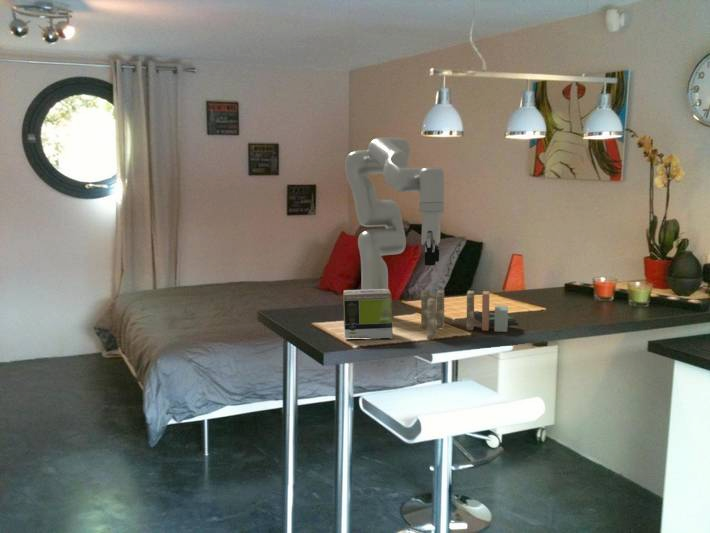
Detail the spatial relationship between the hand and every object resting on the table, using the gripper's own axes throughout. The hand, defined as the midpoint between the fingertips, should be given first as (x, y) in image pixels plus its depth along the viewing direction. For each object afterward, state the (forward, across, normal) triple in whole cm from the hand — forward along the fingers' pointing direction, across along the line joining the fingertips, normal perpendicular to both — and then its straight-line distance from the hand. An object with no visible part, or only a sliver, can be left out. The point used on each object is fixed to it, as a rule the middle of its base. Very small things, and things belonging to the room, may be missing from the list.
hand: (432, 263), depth 223 cm
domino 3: (+23, -15, +1) cm, 28 cm away
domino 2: (+23, 0, 0) cm, 23 cm away
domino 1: (+23, -15, -4) cm, 28 cm away
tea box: (+24, +3, -20) cm, 31 cm away
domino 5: (+23, -15, +16) cm, 32 cm away
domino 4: (+23, -15, +11) cm, 30 cm away
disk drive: (+24, -28, +18) cm, 41 cm away
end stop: (+23, -15, +21) cm, 35 cm away
